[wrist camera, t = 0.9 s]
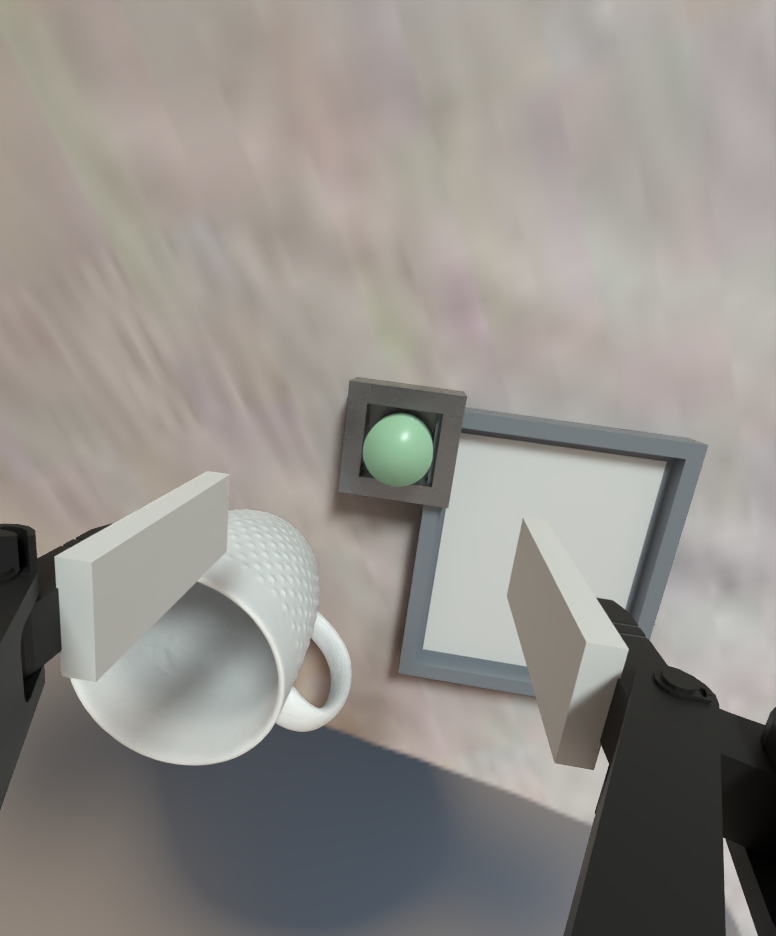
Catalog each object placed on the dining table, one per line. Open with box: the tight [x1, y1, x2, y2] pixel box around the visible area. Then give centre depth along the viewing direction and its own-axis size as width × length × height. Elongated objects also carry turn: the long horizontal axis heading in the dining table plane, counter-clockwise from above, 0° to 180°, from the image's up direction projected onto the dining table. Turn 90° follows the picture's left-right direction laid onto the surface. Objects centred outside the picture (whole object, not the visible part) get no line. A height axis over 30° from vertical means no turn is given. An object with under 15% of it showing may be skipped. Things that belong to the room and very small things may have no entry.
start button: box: [363, 413, 433, 487], centre depth 29 cm, size 4×4×2 cm
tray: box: [398, 408, 708, 697], centre depth 33 cm, size 16×19×2 cm
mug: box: [70, 509, 352, 765], centre depth 30 cm, size 15×11×13 cm
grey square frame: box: [338, 377, 467, 508], centre depth 31 cm, size 7×7×3 cm
